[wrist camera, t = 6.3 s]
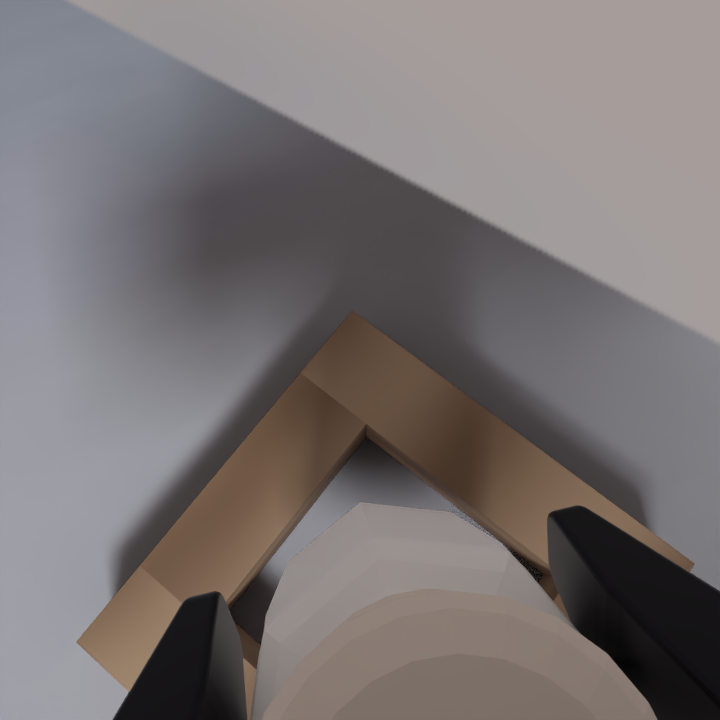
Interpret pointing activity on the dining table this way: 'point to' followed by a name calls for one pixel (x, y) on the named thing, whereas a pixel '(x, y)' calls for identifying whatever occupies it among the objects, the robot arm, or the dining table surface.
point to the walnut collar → (319, 467)
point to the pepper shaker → (426, 631)
